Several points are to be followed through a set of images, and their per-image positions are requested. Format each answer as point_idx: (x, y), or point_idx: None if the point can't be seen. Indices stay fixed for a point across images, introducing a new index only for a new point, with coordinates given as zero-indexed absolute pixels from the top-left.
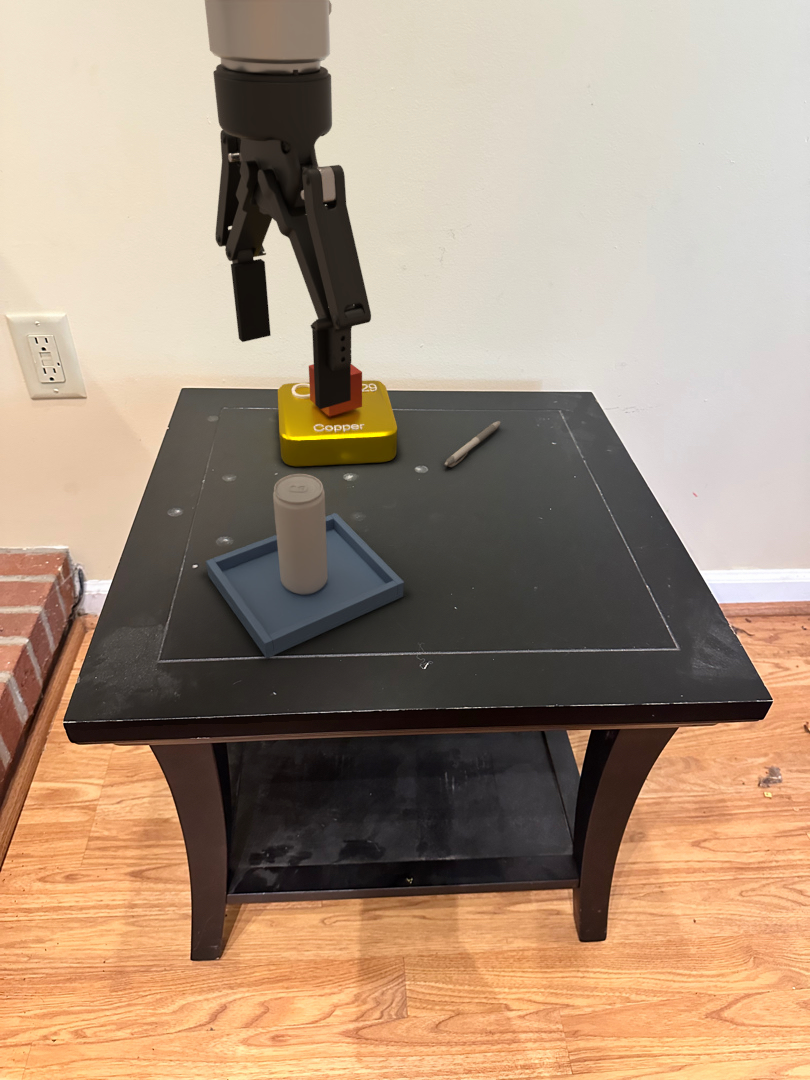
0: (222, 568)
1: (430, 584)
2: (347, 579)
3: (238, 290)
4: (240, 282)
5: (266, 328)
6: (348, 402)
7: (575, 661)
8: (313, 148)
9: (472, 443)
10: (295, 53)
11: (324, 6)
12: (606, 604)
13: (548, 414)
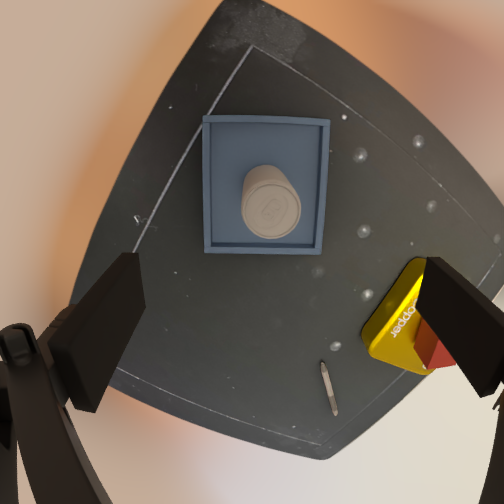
0: (320, 131)
1: (207, 272)
2: None
3: (480, 309)
4: (487, 324)
5: (422, 309)
6: (420, 340)
7: None
8: None
9: (327, 390)
10: None
11: None
12: (133, 351)
13: (322, 439)
